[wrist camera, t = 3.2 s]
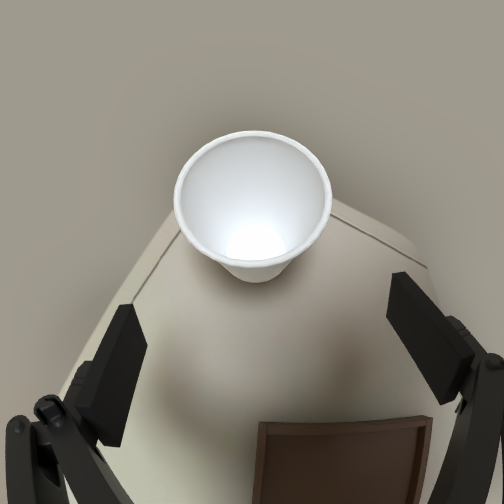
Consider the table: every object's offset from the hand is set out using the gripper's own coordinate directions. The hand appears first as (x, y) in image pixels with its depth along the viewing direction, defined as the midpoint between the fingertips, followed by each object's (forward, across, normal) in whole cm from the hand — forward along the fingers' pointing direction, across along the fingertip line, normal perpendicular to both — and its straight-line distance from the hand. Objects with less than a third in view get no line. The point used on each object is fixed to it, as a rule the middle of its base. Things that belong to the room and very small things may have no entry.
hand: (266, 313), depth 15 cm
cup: (+14, 0, -3) cm, 15 cm away
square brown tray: (-3, +5, -20) cm, 21 cm away
